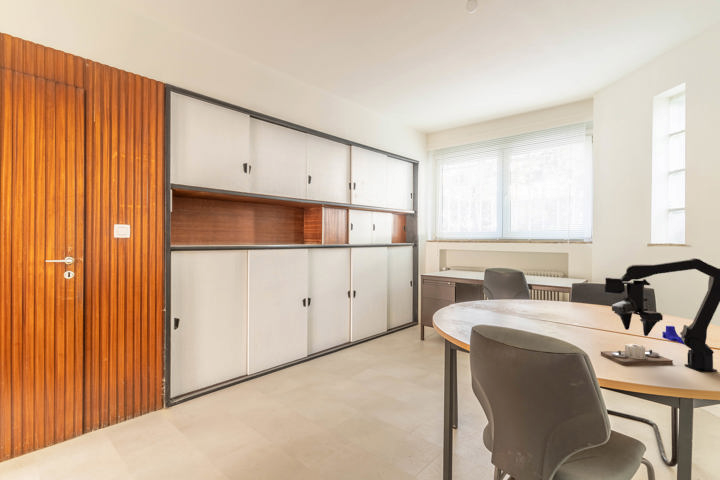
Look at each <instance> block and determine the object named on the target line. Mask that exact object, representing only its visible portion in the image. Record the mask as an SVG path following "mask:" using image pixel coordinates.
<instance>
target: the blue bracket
mask: <svg viewBox="0 0 720 480" xmlns="http://www.w3.org/2000/svg"><path fill="white" fill-rule="evenodd" d="M662 338H663V339H665V340H668V341H672V342H677V343H680V344H682V345H685V344H684V342H683V341H682V339H681V336H680V335H679V334H678V333H677V331H676V327H675V325H665V331H662ZM685 346H686V345H685Z"/></svg>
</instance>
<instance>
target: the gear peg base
mask: <svg viewBox="0 0 720 480" xmlns="http://www.w3.org/2000/svg"><path fill="white" fill-rule="evenodd" d="M617 351H618V352H611V353H612V356H614V357H617V358H627V354H625V353H622V352H621V351H622V350H617ZM645 356H648V357H653V358H658V357H659V356H660V353H659V352H655V351H653V350H652V349H648V350H646V351H645Z"/></svg>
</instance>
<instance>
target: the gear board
mask: <svg viewBox="0 0 720 480" xmlns="http://www.w3.org/2000/svg"><path fill="white" fill-rule="evenodd" d="M620 351H621V352H622V353H625V350H620ZM645 351H647V350H646V349H645ZM611 352H618V350H609V351H605V350H604V351H603V350H602V351H600V356H602V357H604V358H606V359H609V360H611V361H613V362H615V363H617V364H619V365H622V366H650V365H651V366H652V365H653V366H656V365H657V366H658V365H673V364H674V363H673V362H674V361H673V360H672V359H669V358H667V357H664V356H661V355H659V357H658V358H653V357H648V356H645V358H644V357H643V358H634V357H631V356H627V358H617V357H614V356H612V353H611Z"/></svg>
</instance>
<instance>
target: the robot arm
mask: <svg viewBox="0 0 720 480" xmlns="http://www.w3.org/2000/svg"><path fill="white" fill-rule="evenodd" d="M690 270H697V271H699V272H700V273H703V274H705V275H707V276H709V277H708V283H707V285H708V287H707V291H706V293H705V295H704V297H703V300H702V302H701V303H700V306H699V308H698V311H697V312H696V315H695V317H694V319H693V320H692V323H691V324H689V325H687V324H684V325H683V328H682V330H681V332H679V334H680V337H681V339H682V341H683V342H684V344H685V346H686V347H687V348H689V349H688V350H687V363H685V364H684V366H685V367H688V368H691V369H693V370H695V371H698V372H702V373H703V372H706V373H707V372H710V373H711V372H712V373H713V372H718V369H717V368H714V351H713V349H712V348H711V347H710V346H709V345H708V344H707V343H706V342H707V338H708V337H707V334H708V328H709V326H710V323H711V321H712V319H713V317H714V316H715V313H716V311H717V309H718V307H719V304H720V268H719V267H716V266H713V265H712V264H709V263H707V262H705V261H703V260H701V259H700V258H694V257H693V258H690V259H685V260H678V261H670V262H669V261H668V262H663V263H656V264H630V265H629V266H627V268H626V270H625V273H624V274H623V275H622V276H621V278H617V277H616V278H614V277H605V285H604V293H605V294H612V295H622V293H625V285H626V296H624V297H623V298H622V299H623V300H622V301H619V302H616V303H613V304H612V306H611V311H612V312H613V313H614V314H616V315H617V316H618V317H620V320H621V322H622V324H623V327H624V329H625V330H626V331H628V330H629V329H630V326H631V320H632V317H633V314H634V315H637V316H639V317H640V319H639V321H640V322H641V323H642V329H643V330H642V331H643V335H644V336H645V337H647V336H648V335H649V334H650V332H652V329H653V328H654V327H655V325H657V323H660V322H661V321H663V319H664V317H663V316H664V315H663V314H662V313H661V312H657V311H655V310H654V311H651V310H648V308H646V307H645V302H648V298H647V297H645V286H651V283H650V282H649V281H647V279H645V278H649V277H651V276H654V275H655V276H656V275H658V274H660V275H661V274H668V273H675V272H682V271H683V272H685V271H690ZM641 279H642V280H641ZM631 281H632V282H631ZM684 344H683V345H684Z"/></svg>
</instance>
